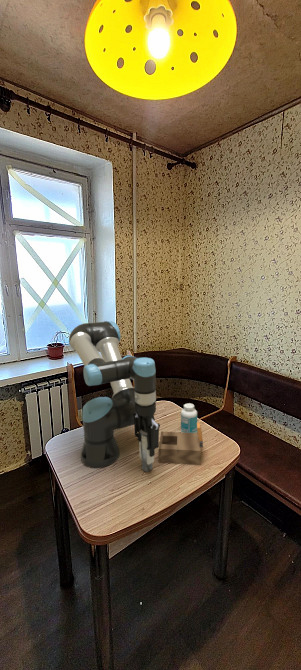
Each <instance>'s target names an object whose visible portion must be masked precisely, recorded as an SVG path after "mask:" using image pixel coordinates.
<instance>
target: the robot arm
mask: <svg viewBox="0 0 301 670" xmlns="http://www.w3.org/2000/svg"><path fill="white" fill-rule="evenodd" d="M121 337H122V336H121V331H120V328H119V326H118V324H117V323H116V322H114V321H112V320H111V321H107V320H106V321H105V320H104V321H100V322H99V321H98V322H88V323H86V322H85V323H81V324H79V325H77V326H75V327H74V328H73V329H72V330H71V331H70V334H69V336H68V343H69V346H70V348H71V349H72V350H73V351H75V352H76V353H77V356H78V357H79V358H80V360H81V362H82V364H83V370H82V371H83V379H84V382H85V384H86V385H87V386H88V387H92V386H100V385H103V384H107V383H110V386H111V389H112V392H113V394H112V397H111V398H110V397H108V396H104V397H103V396H98V397H95V398H92V399H90V400H88V401H87V402H86V403H84V405H83V407H82V417H81V420H82V425H83V437H84V440H83V445H82V448H81V451H80V453H81V454H80V456H81V457H80V458H81V459H82V460H81V462H82V461H83V462H82V464H83V463H84V464H83V465H85V466H86V465H87V466H86V467H88V466H90V467H89V468H92V467H94V469H100V467H101V468H105V467H108V466H110V465H112V464H113V463H114V462H116V461H117V460H118V458H119V456H120V448H119V444H118V443H117V440H116V438H115V431H116V430H120V429H124V428H127V427H130V426H134V437H135V438H137V441H138V449H139V451H138V453H139V458H140V459H141V435H140V434H139V428H140V429H141V428H144V430H145V431H146V433H147V442H148V447H147V464H148V465H149V464H151V463H152V464H153V463H154V462H155V451H156V449H159V442H160V428H161V424H160V423H159V422H158V423H157V422H156V420H155V413H156V411H157V405H156V404H157V402H156V400H157V392H156V391H157V390H156V371H157V370H156V363H155V360H154V359H153V358H151V357H136V356H134V355H131V354H130V355H125V356H124V357H122V355H121V353H120V348H119V344H120V342H121ZM131 380H132V381H133V383H132V382H131Z"/></svg>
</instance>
